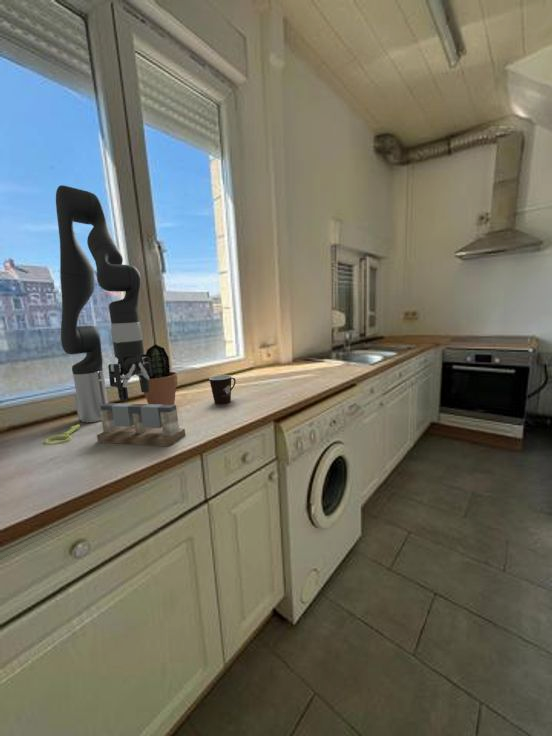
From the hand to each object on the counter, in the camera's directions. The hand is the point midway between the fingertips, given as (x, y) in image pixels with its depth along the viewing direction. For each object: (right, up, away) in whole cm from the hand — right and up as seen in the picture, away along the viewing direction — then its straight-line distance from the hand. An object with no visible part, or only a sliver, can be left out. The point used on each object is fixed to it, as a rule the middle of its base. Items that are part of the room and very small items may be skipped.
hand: (135, 396), depth 90 cm
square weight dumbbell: (+1, -9, +2) cm, 9 cm away
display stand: (+1, -13, +2) cm, 13 cm away
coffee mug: (+20, -6, +37) cm, 42 cm away
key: (-25, -14, +8) cm, 29 cm away
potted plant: (-4, -8, +32) cm, 33 cm away
